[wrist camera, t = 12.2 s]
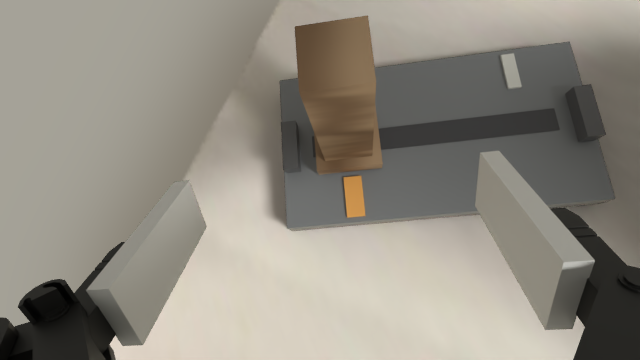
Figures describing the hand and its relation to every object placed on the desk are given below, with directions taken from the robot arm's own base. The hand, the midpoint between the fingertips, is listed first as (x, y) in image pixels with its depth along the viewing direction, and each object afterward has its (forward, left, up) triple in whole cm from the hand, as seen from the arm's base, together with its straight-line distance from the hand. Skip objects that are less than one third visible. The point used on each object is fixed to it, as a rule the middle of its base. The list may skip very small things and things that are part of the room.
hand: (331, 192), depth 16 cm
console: (-7, -6, -14) cm, 17 cm away
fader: (-1, -6, -11) cm, 13 cm away
